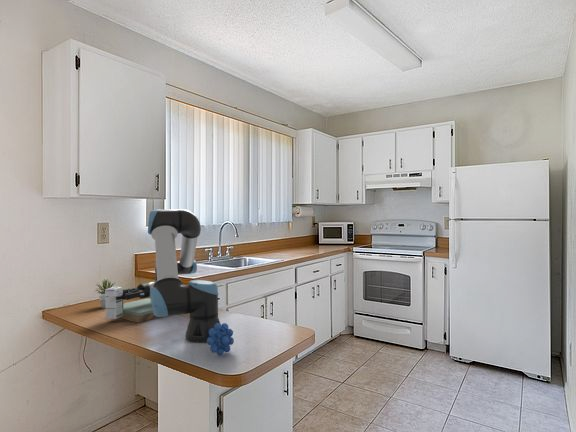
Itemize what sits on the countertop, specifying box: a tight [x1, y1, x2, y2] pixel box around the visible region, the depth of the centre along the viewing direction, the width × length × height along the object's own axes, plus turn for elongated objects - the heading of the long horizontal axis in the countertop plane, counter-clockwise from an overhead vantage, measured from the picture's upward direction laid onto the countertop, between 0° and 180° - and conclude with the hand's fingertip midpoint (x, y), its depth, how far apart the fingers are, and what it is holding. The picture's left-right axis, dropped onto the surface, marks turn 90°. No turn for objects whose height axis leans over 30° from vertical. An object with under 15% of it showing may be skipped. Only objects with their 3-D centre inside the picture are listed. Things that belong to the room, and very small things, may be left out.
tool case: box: [118, 313, 158, 323], centre depth 190 cm, size 22×24×3 cm
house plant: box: [93, 278, 115, 309], centre depth 207 cm, size 14×14×16 cm
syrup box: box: [105, 286, 124, 320], centre depth 177 cm, size 6×6×14 cm
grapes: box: [206, 322, 235, 356], centre depth 131 cm, size 12×7×12 cm, turn 138°
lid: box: [123, 297, 153, 316], centre depth 190 cm, size 22×25×8 cm
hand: (104, 298), depth 173 cm, fingers closed on syrup box, 7 cm apart
